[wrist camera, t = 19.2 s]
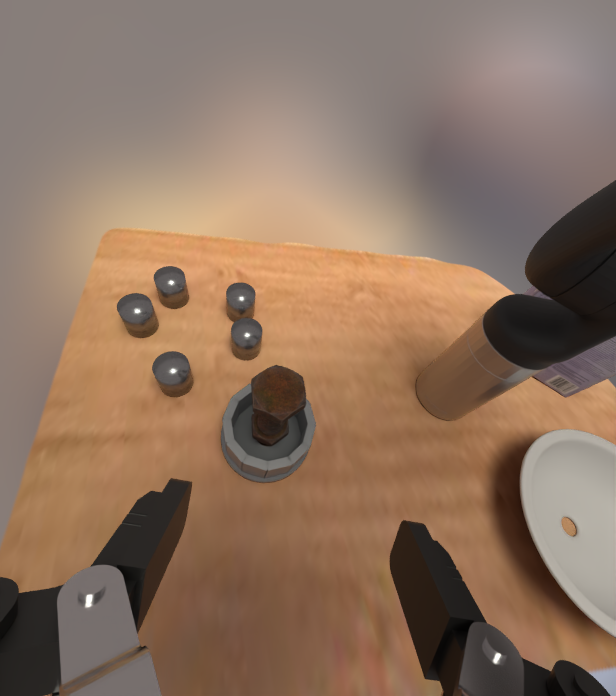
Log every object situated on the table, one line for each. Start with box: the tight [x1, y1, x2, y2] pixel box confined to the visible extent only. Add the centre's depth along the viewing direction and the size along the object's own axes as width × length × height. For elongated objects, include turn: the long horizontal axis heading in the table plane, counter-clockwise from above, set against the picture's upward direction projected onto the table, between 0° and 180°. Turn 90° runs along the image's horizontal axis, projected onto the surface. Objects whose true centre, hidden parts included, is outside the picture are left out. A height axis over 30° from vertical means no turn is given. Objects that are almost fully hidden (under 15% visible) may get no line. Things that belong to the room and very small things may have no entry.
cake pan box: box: [524, 286, 616, 397], centre depth 53 cm, size 19×5×18 cm, turn 54°
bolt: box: [251, 365, 306, 446], centre depth 37 cm, size 6×5×15 cm
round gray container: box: [221, 384, 316, 483], centre depth 41 cm, size 12×12×6 cm
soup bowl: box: [520, 429, 616, 638], centre depth 43 cm, size 24×24×7 cm
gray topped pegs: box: [117, 266, 262, 397], centre depth 49 cm, size 19×19×5 cm
